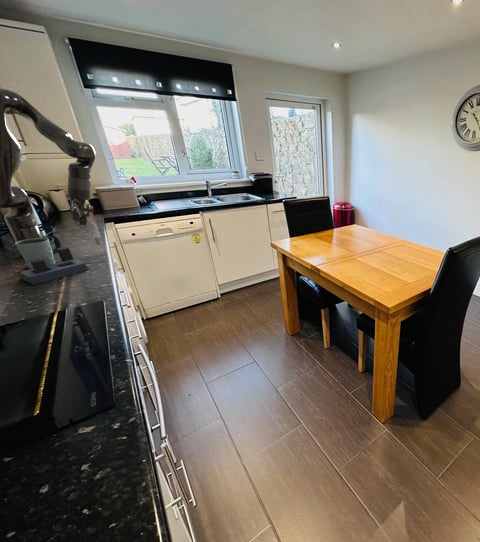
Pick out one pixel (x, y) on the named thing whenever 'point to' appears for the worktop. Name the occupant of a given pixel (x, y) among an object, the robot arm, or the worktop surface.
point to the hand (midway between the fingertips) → (79, 222)
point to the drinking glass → (36, 250)
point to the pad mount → (54, 271)
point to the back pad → (64, 254)
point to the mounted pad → (39, 265)
